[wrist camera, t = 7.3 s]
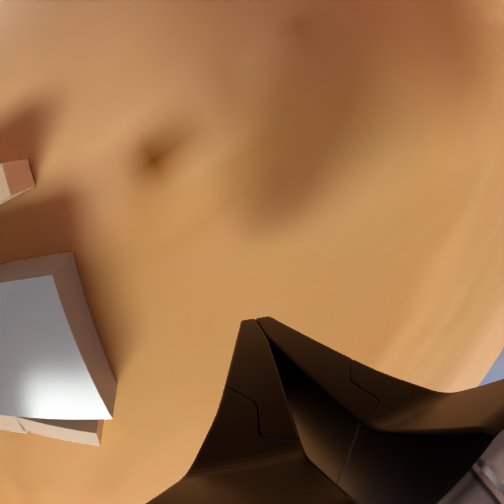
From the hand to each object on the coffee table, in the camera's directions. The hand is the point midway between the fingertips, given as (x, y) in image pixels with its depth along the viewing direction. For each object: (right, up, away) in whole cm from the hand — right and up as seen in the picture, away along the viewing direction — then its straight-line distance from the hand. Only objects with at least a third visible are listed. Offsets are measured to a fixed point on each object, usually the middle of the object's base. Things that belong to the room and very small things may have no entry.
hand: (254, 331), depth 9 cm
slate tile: (-12, -1, +1) cm, 12 cm away
